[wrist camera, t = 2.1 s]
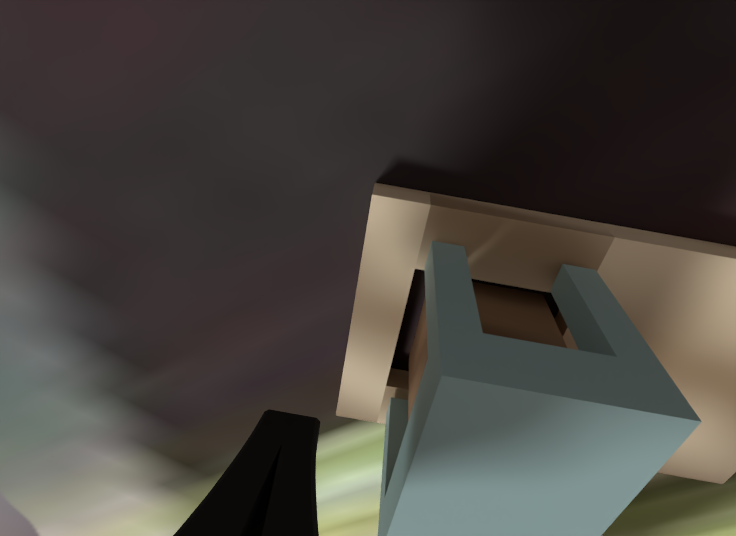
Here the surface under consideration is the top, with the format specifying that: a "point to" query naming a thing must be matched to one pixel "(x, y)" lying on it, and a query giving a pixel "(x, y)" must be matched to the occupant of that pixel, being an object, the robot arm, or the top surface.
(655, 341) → the board
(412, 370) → the block
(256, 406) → the top surface
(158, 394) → the top surface
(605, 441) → the cover
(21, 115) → the top surface
